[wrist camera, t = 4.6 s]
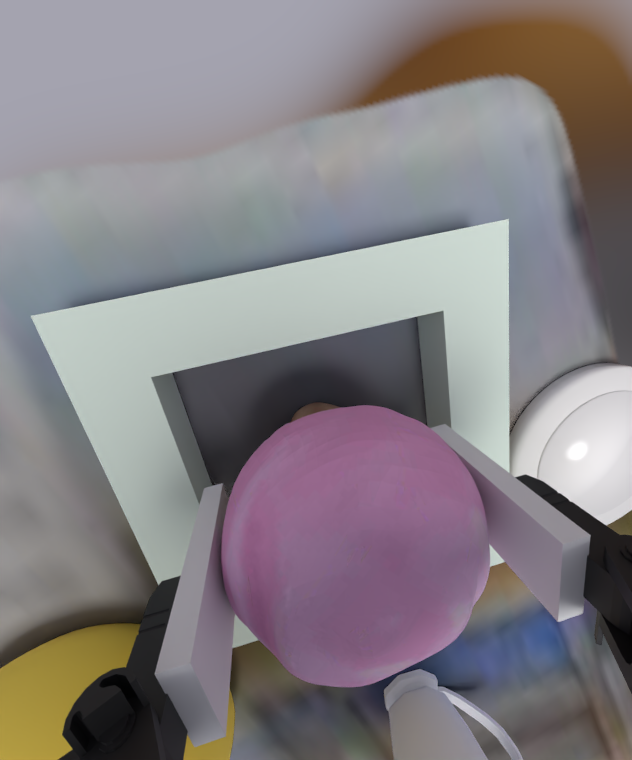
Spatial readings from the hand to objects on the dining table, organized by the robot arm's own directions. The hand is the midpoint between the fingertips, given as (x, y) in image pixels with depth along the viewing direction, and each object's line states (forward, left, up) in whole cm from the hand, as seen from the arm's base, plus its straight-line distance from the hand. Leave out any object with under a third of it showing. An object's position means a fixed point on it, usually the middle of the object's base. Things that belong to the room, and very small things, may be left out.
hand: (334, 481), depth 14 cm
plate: (+16, -5, -3) cm, 17 cm away
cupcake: (0, 0, -4) cm, 4 cm away
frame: (0, 0, -3) cm, 3 cm away
